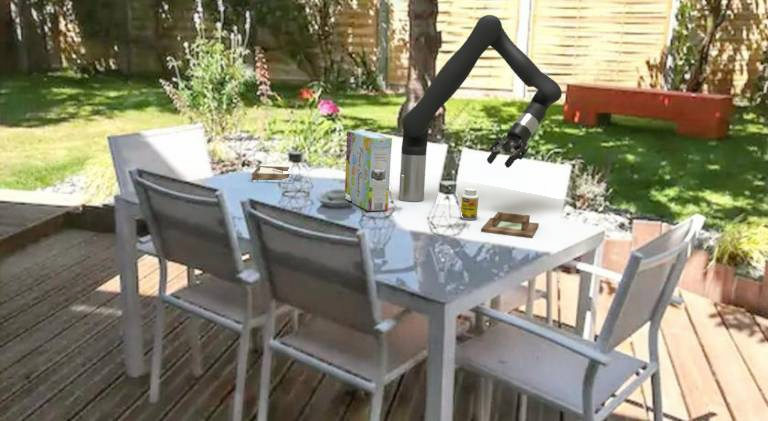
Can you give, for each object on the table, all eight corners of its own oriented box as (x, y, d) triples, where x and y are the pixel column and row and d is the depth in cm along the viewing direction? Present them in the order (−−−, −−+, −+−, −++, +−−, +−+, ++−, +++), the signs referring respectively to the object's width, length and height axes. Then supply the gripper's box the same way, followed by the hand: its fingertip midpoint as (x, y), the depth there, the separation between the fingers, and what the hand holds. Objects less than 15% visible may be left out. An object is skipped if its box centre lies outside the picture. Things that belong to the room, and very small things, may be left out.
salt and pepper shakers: (254, 181, 289) (282, 183, 289) (255, 171, 288) (282, 173, 288) (260, 176, 301) (286, 177, 301) (260, 166, 300) (286, 167, 300)
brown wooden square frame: (480, 231, 226) (481, 219, 225) (490, 220, 241) (491, 209, 240) (531, 238, 221) (532, 225, 220) (538, 226, 236) (539, 214, 235)
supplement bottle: (458, 219, 240) (460, 189, 238) (462, 215, 245) (464, 186, 243) (475, 221, 239) (477, 191, 236) (478, 217, 244) (480, 188, 241)
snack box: (390, 211, 248) (393, 137, 242) (367, 212, 244) (370, 138, 238) (364, 197, 267) (366, 129, 261) (343, 199, 263) (345, 129, 257)
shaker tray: (252, 181, 287) (252, 173, 286) (258, 173, 304) (258, 165, 303) (292, 183, 287) (293, 174, 287) (297, 175, 304) (297, 167, 303)
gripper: (503, 119, 252) (477, 154, 248) (533, 124, 241) (507, 160, 237) (513, 134, 256) (488, 167, 252) (543, 138, 245) (517, 174, 241)
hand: (497, 164), depth 245 cm, fingers open, 8 cm apart
